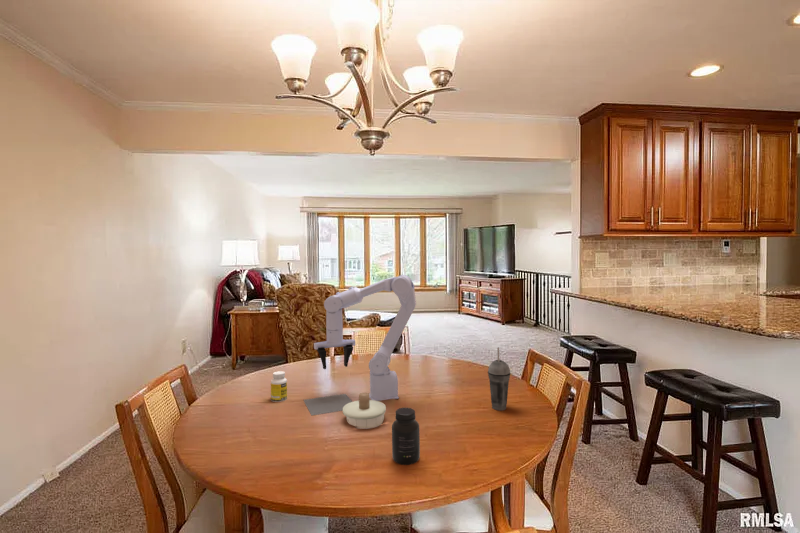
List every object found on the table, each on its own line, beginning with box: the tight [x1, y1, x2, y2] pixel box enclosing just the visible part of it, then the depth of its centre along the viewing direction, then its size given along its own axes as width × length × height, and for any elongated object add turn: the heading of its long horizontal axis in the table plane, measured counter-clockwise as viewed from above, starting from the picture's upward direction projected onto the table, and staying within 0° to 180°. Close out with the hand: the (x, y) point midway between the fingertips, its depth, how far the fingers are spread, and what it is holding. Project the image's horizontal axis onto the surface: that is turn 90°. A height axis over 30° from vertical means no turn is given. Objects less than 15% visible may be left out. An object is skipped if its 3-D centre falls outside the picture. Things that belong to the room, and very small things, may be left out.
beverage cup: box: [487, 347, 512, 411], centre depth 133 cm, size 7×7×20 cm
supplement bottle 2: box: [391, 407, 421, 466], centre depth 101 cm, size 7×7×12 cm
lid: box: [342, 392, 387, 419], centre depth 124 cm, size 13×13×5 cm
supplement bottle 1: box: [270, 370, 288, 403], centre depth 142 cm, size 5×5×10 cm
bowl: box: [346, 413, 385, 430], centre depth 124 cm, size 11×11×3 cm
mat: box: [303, 393, 353, 416], centre depth 137 cm, size 15×15×1 cm
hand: (335, 367), depth 146 cm, fingers open, 7 cm apart
